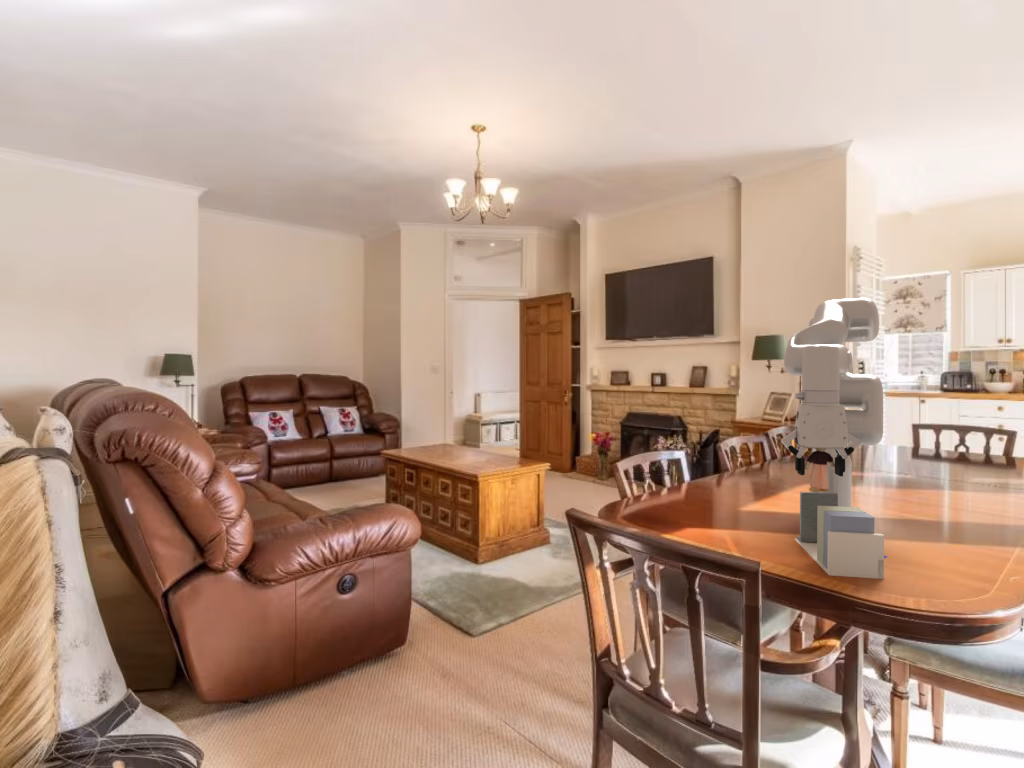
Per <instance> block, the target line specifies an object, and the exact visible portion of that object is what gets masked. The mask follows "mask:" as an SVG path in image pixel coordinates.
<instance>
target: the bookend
mask: <svg viewBox="0 0 1024 768" xmlns="http://www.w3.org/2000/svg"><path fill="white" fill-rule="evenodd" d="M817 506H838V494H837V493H820V492H811V491H800V493H799V535H797V538H796V539H799V540H800V541H801V542H815V543H817Z"/></svg>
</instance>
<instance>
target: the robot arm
mask: <svg viewBox="0 0 1024 768" xmlns="http://www.w3.org/2000/svg"><path fill="white" fill-rule="evenodd" d="M879 330H880V319H879V310H878V307H877V305H876V303H875V302H874V301H873V299H871V298H868V297H858V298H857V297H856V298H841V299H839V298H838V299H831V300H825V301H824V302H822V303H820V304H819V305H818V306H817V307H816V309H815V311H814V315H813V317H812V318H811V319H810V321H809V323H808V326H807V327H805V328H802V329H801V330H799V331H797V332H795V333H794V334H793V335H791V337H790V338H789V340H788V342H787V344H786V348H785V352H784V356H783V357H784V358H783V366H784V369H785V371H786V373H788V374H790V375H791V376H801V390H800V392H799V393H798V392H797V393H795V394H794V395H795V396H794V397H795V400H800V402H801V403H799V404H798V407H797V410H796V418H795V422H794V424H795V425H794V430H792V431H791V432H789V433H788V434H786V435H785V436H784V437H782V438H781V440H780V441H781V443H782V444H783V445H784V446H785V447H786V449H787V450H788V451H789V452H790V453H792V454H793V456H794V457H795V459H794V461H795V462H794V469H795V471H796V472H797V474H798V475H800V476H805V474H806V469H805V463H806V458H804V454H805V453H806V451H807V450H808V449H812V452H815V451H817V450H816V449H815V448H824V449H826V450H825V451H824V452H827V453H829V454H830V455H831V456H832V458H833V461H834V464H835V467H831V466H830V464H829V462H827V473H828V483H829V492H822V491H820V493H837V494H838V506H840V507H852V480H853V479H852V467H853V466H852V464H853V463H852V458H851V456H850V455H851V454H852V453H853V452H854V451H855V450H856V449H857V448H858V447H859V445H861V446H874V445H879V443H880V442H881V441H882V440H883V436H884V388H883V387H884V386H883V383H882V381H881V379H880V378H879V377H878V376H877V375H875V374H869V373H868V374H867V373H855V374H854V373H852V372H853V371H852V368H853V353H852V351H850V350H849V348H848V347H847V346H845V345H844V343H859V342H860V343H861V342H862V343H863V342H866V343H867V342H872V341H874V340H875V339H876V338H877V337H878V335H879ZM845 408H852V409H845ZM853 408H857V409H853ZM793 440H794V442H795V444H796V445H797V446H796V447H794V445H793V444H792V443H791V441H793Z"/></svg>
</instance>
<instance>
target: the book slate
mask: <svg viewBox="0 0 1024 768" xmlns="http://www.w3.org/2000/svg"><path fill="white" fill-rule="evenodd" d="M828 531H832V532H853V533H873V534H875V517H874V516H872V515H871V514H869V513H867V512H866V511H865V512H843V511H824V567H825V568H826V569H827V551H828Z"/></svg>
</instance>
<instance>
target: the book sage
mask: <svg viewBox="0 0 1024 768" xmlns="http://www.w3.org/2000/svg"><path fill="white" fill-rule="evenodd" d="M824 511H843V512H866V511H865V510H863V509H861V508H860V507H858V506H851V507H840V506H817V560H818V561H819V562H820V563H821V564H822V565H823V566H824Z"/></svg>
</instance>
